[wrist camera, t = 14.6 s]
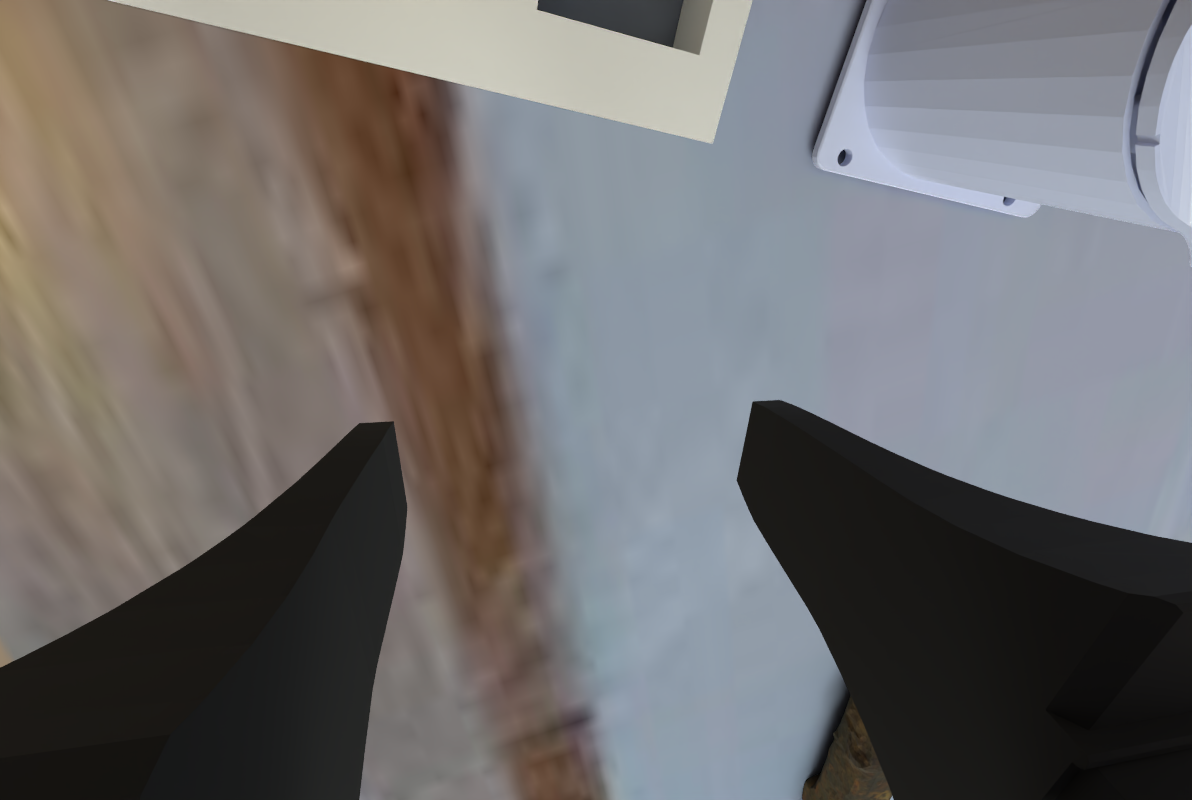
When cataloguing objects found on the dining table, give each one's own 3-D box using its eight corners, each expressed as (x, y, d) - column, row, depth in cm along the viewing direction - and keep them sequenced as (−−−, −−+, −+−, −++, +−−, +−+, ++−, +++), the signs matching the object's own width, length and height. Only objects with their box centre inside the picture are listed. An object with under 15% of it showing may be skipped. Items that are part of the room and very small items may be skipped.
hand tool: (847, 630, 33) (909, 723, 28) (918, 622, 34) (990, 711, 29) (764, 824, 44) (799, 915, 39) (820, 814, 44) (860, 901, 40)
